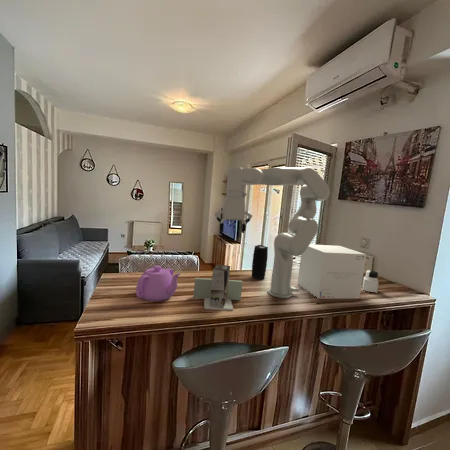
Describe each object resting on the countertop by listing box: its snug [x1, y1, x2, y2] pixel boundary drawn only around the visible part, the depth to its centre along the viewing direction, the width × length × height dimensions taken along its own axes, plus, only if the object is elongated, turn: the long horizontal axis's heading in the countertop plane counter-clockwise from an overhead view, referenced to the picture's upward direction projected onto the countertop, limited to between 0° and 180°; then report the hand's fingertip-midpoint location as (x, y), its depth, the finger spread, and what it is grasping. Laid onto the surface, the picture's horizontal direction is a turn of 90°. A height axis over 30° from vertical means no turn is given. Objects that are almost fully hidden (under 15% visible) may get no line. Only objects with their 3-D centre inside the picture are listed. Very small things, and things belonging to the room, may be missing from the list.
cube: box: [296, 243, 367, 299], centre depth 147 cm, size 25×21×24 cm
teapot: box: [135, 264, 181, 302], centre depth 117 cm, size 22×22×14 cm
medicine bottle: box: [361, 269, 379, 294], centre depth 154 cm, size 7×7×12 cm
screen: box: [192, 277, 244, 301], centre depth 122 cm, size 22×1×9 cm, turn 95°
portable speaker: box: [251, 244, 269, 281], centre depth 160 cm, size 9×9×20 cm
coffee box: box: [210, 264, 231, 308], centre depth 115 cm, size 9×6×16 cm
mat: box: [203, 298, 234, 311], centre depth 116 cm, size 12×10×1 cm
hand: (232, 232), depth 122 cm, fingers open, 9 cm apart
